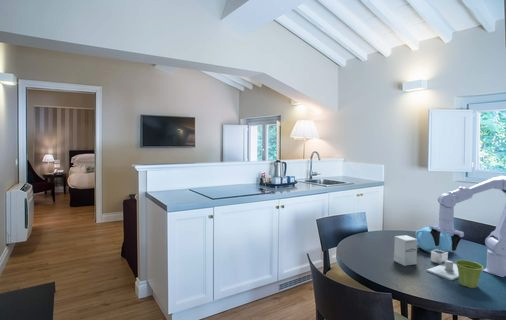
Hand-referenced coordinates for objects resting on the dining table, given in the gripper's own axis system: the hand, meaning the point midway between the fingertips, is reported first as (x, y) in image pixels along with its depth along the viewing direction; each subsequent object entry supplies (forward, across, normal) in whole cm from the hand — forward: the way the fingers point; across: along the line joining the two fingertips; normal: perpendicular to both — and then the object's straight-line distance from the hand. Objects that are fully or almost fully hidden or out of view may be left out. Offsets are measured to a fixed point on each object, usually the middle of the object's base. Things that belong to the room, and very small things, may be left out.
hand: (445, 247), depth 144 cm
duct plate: (+10, +4, -2) cm, 10 cm away
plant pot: (+10, +14, -9) cm, 20 cm away
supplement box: (+10, -14, -10) cm, 19 cm away
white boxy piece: (+10, -5, +5) cm, 12 cm away
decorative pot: (+10, -16, +19) cm, 27 cm away
